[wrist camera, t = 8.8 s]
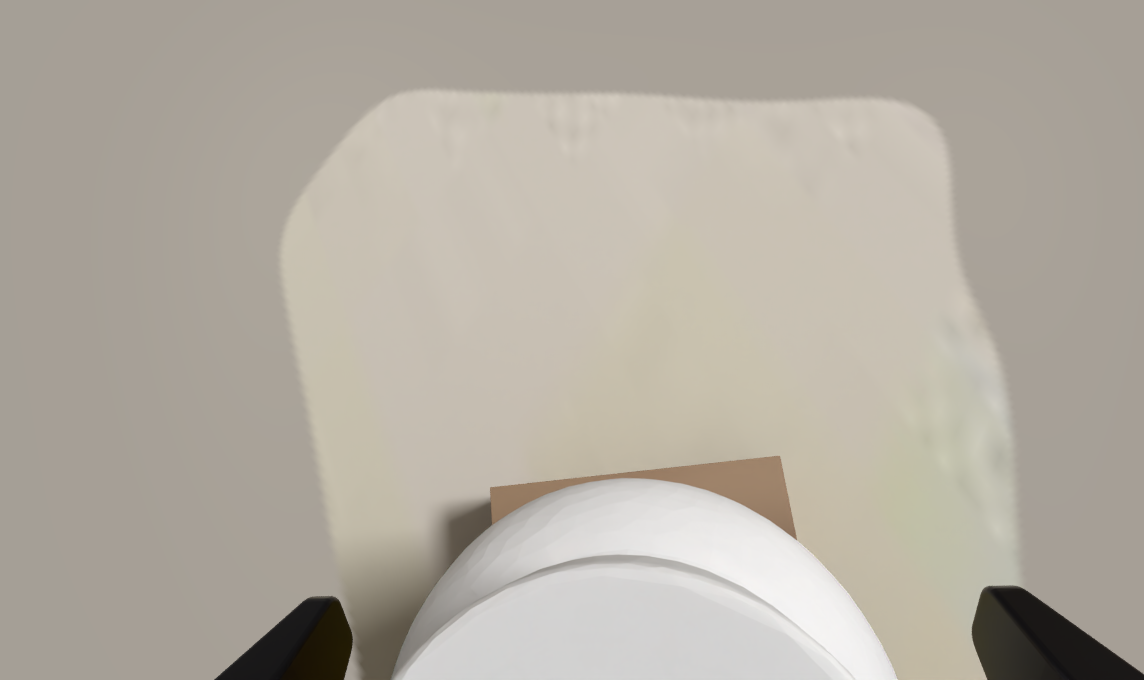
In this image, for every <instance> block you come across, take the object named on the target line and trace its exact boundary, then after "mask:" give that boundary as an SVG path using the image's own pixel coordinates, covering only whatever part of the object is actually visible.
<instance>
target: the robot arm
mask: <svg viewBox="0 0 1144 680" xmlns="http://www.w3.org/2000/svg"><path fill="white" fill-rule="evenodd" d="M972 638H973V643H974V646H975V649H976V652H977V654H978V657H979V659H980V662H981V664H982V667H983V669H984V672H985V675H986V677H987V680H1144V674H1143V673H1141V672H1140V671H1138V670H1137V669H1136V668H1134V667H1133V666H1132V665H1130V664H1129V663H1127V662H1126V661H1125V660H1123V659H1122V658H1120V657H1119V656H1117V655H1116V654H1115V653H1113V652H1112V651H1110V650H1109V649H1108V648H1106V647H1105V646H1104V645H1102V644H1100V643H1099V642H1098V641H1097V640H1095V639H1094V638H1092V637H1091V636H1090V635H1088V634H1087V633H1085V632H1084V631H1082V630H1081V629H1080V628H1078V627H1077V626H1076V625H1074V624H1073V623H1071V622H1070V621H1069V620H1067V619H1066V618H1064V617H1063V616H1062V615H1060V614H1059V613H1057V612H1056V611H1054V610H1053V609H1052V608H1050V607H1049V606H1048V605H1046V604H1045V603H1043V602H1042V601H1041V600H1039V599H1038V598H1036V597H1035V596H1034V595H1032V594H1031V593H1029V592H1028V591H1026V590H1025V589H1023V588H1021V587H1018V586H988V587H985V588H984V589H983V590H982V592H981V595H980V599H979V602H978V606H977V610H976V614H975V617H974V621H973V625H972ZM352 643H353V638H352V632H351V629H350V627H349V624H348V621H347V619H346V616H345V614H344V611H343V608H342V606H341V603H340V601H339V600H338V599H337V598H336V597H333V596H321V597H320V596H319V597H318V596H317V597H310V598H308V599H306V600H305V601H303V602H302V603H301V604H300V605H299V606H298V607H296V608H295V609H294V610H293V611H292V612H291V613H290V614H289V615H287V616H286V617H285V618H284V619H283V620H282V621H280V622H279V623H278V624H277V625H276V626H275V627H274V628H273V629H271V630H270V631H269V632H268V633H267V634H266V635H265V636H263V637H262V638H261V639H260V640H259V641H258V642H257V643H255V644H254V645H253V646H252V647H251V648H250V649H249V650H248V651H246V652H245V653H244V654H243V655H242V656H241V657H240V658H238V659H237V660H236V661H235V662H234V663H233V664H232V665H230V666H229V667H228V668H227V669H226V670H225V671H224V672H222V673H221V674H220V675H219V676H218V677H217V678H216V679H215V680H344V677H345V673H346V670H347V666H348V662H349V658H350V654H351V650H352Z"/></svg>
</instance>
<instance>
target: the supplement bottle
mask: <svg viewBox="0 0 1144 680" xmlns="http://www.w3.org/2000/svg"><path fill="white" fill-rule="evenodd" d="M391 680H898V679H897V677H896V674H895V672H894V669H893V667H892V664H891V662H890V660H889V658H888V656H887V654H886V652H885V650H884V648H883V646H882V644H881V643H880V641H879V639H878V638H877V636H876V634H875V633H874V631H873V630H872V628H871V626H870V625H869V623H868V621H867V620H866V618H865V617H864V615H863V613H862V612H861V611H860V609H859V608H858V606H857V605H856V604H855V602H854V601H853V599H852V598H851V597H850V595H849V594H848V592H847V591H846V590H845V589H844V588H843V587H842V585H841V584H840V583H839V582H838V581H837V580H836V578H835V577H834V576H833V575H832V574H831V573H830V572H829V571H828V570H827V569H826V568H825V567H824V566H823V565H822V564H821V562H820V561H819V560H818V559H817V558H816V557H815V556H814V555H813V554H812V553H811V552H810V551H808V550H807V549H806V548H805V547H804V546H803V545H802V544H801V543H800V542H798V541H797V540H796V539H794V538H793V537H792V536H790V535H789V534H788V533H786V532H785V531H784V530H782V529H781V528H779V527H778V526H777V525H775V524H774V523H772V522H771V521H770V520H768V519H766V518H765V517H763V516H761V515H759V514H758V513H756V512H754V511H752V510H751V509H749V508H747V507H745V506H744V505H742V504H740V503H737V502H735V501H733V500H731V499H728V498H726V497H723V496H721V495H718V494H716V493H713V492H710V491H708V490H704V489H701V488H697V487H693V486H689V485H686V484H681V483H675V482H669V481H662V480H654V479H641V478H619V479H609V480H601V481H594V482H588V483H583V484H578V485H574V486H569V487H566V488H563V489H560V490H557V491H554V492H551V493H548V494H545V495H543V496H541V497H539V498H537V499H535V500H533V501H531V502H529V503H526V504H525V505H523V506H521V507H520V508H518V509H516V510H515V511H513V512H511V513H510V514H508V515H506V516H505V517H503V518H502V519H500V520H499V521H497V522H496V523H494V524H493V525H491V526H490V527H489V528H488V529H487V530H485V531H484V532H483V533H482V534H481V535H480V536H478V537H477V538H476V539H475V540H474V541H473V542H472V543H471V544H470V545H469V546H468V547H466V548H465V549H464V551H463V552H462V553H461V554H460V555H459V557H458V558H457V559H456V560H455V561H454V563H453V564H452V565H451V566H450V567H449V568H448V570H447V571H446V572H445V573H444V575H443V576H442V577H441V578H440V580H439V581H438V582H437V583H436V585H435V586H434V588H433V589H432V591H431V592H430V594H429V595H428V597H427V598H426V600H425V602H424V604H423V605H422V607H421V609H420V610H419V612H418V614H417V616H416V617H415V619H414V621H413V623H412V625H411V627H410V630H409V632H408V634H407V636H406V638H405V641H404V643H403V645H402V648H401V650H400V653H399V656H398V659H397V661H396V664H395V667H394V670H393V674H392V677H391Z"/></svg>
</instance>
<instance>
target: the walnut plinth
mask: <svg viewBox="0 0 1144 680" xmlns="http://www.w3.org/2000/svg"><path fill="white" fill-rule="evenodd" d="M619 478H641V479H654V480H662V481H669V482H675V483H681V484H686V485H689V486H693V487H697V488H701V489H704V490H708V491H710V492H713V493H716V494H718V495H721V496H723V497H726V498H728V499H731V500H733V501H735V502H737V503H740V504H742V505H744V506H745V507H747V508H749V509H751V510H752V511H754V512H756V513H758V514H759V515H761V516H763V517H765V518H766V519H768V520H770V521H771V522H772V523H774V524H775V525H777V526H778V527H779V528H781V529H782V530H784V531H785V532H786V533H788V534H789V535H790V536H792V537H793V538H794V539H796V540H797V538H796V533H795V528H794V523H793V518H792V513H791V508H790V503H789V498H788V494H787V489H786V484H785V479H784V474H783V469H782V464H781V459H780V456H773V457H764V458H755V459H746V460H737V461H728V462H718V463H709V464H700V465H691V466H682V467H673V468H664V469H655V470H646V471H636V472H627V473H618V474H609V475H600V476H591V477H582V478H573V479H564V480H554V481H545V482H536V483H527V484H518V485H509V486H500V487H491V488H490V495H491V515H492V525H493V524H494V523H496V522H497V521H499V520H500V519H502V518H503V517H505V516H506V515H508V514H510V513H511V512H513V511H515V510H516V509H518V508H520V507H521V506H523V505H525V504H526V503H529V502H531V501H533V500H535V499H537V498H539V497H541V496H543V495H545V494H548V493H551V492H554V491H557V490H560V489H563V488H566V487H569V486H574V485H578V484H583V483H588V482H594V481H601V480H609V479H619Z"/></svg>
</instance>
